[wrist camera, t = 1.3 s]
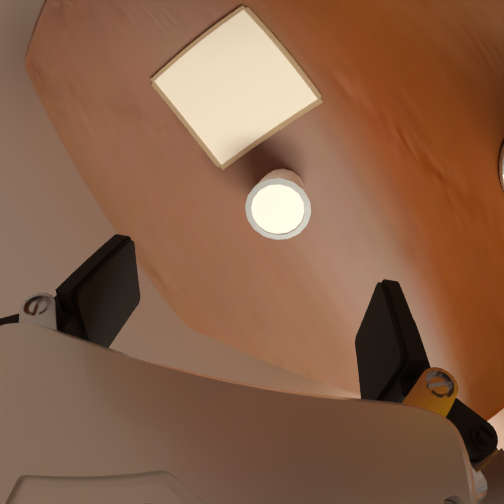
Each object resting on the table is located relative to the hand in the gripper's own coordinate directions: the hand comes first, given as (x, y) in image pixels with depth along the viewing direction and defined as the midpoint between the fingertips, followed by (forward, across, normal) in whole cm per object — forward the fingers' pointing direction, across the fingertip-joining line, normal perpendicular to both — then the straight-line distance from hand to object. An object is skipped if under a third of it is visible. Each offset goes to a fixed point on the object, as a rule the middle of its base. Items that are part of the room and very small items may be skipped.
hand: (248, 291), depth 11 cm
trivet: (+28, +7, -8) cm, 30 cm away
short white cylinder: (+28, 0, +5) cm, 29 cm away
